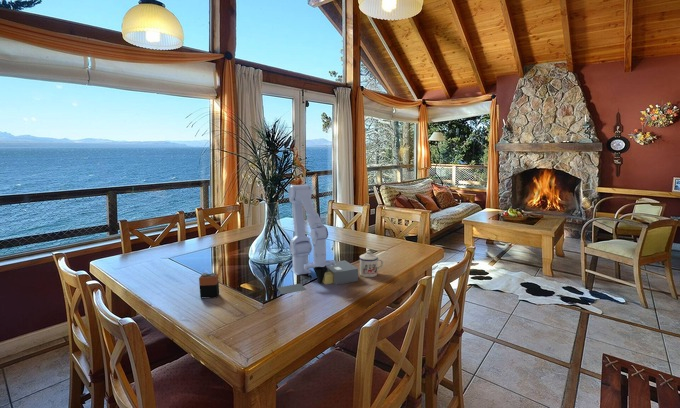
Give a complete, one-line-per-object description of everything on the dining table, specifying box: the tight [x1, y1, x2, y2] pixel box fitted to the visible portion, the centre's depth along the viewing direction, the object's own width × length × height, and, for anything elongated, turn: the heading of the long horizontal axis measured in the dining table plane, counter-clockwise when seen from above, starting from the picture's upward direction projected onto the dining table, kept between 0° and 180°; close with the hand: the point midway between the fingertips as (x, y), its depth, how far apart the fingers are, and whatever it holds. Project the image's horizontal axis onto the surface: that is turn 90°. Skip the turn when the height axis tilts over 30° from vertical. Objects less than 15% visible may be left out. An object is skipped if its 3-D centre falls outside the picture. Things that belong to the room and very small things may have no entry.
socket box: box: [326, 259, 359, 285], centre depth 164 cm, size 14×12×6 cm
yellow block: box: [322, 271, 334, 285], centre depth 159 cm, size 4×8×4 cm, turn 115°
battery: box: [198, 272, 220, 298], centre depth 144 cm, size 4×7×10 cm, turn 96°
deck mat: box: [276, 283, 307, 295], centre depth 151 cm, size 8×11×1 cm
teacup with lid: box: [358, 250, 384, 278], centre depth 168 cm, size 12×9×12 cm
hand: (320, 282), depth 156 cm, fingers closed
